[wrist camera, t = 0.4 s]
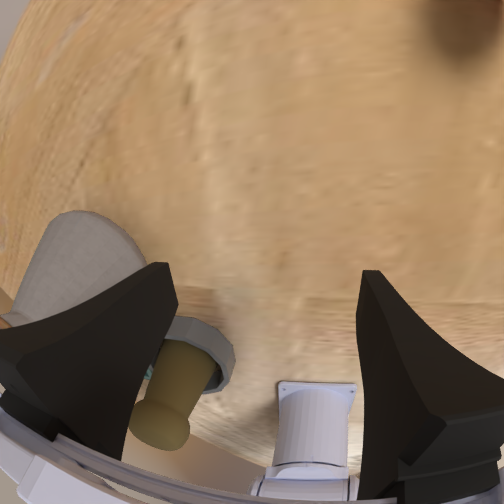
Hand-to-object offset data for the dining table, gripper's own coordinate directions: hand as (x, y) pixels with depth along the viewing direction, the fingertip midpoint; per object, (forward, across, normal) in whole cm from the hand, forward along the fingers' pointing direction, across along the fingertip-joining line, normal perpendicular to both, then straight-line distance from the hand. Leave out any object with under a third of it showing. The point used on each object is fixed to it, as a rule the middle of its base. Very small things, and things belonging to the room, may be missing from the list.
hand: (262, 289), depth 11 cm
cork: (+10, +9, +15) cm, 21 cm away
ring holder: (+10, +9, +16) cm, 21 cm away
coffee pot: (+10, +21, +5) cm, 24 cm away
